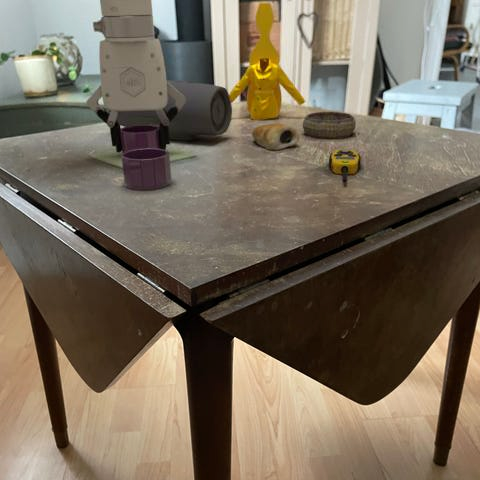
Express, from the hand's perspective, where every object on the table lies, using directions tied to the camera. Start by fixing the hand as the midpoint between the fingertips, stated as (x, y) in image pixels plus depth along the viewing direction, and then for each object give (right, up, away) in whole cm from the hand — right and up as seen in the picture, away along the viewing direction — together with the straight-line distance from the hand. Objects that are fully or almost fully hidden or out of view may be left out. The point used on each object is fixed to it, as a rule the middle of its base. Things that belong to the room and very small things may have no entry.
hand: (141, 148), depth 91 cm
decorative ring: (+34, +7, +14) cm, 37 cm away
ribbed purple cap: (+3, -9, -13) cm, 16 cm away
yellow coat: (+22, +16, +29) cm, 40 cm away
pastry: (+23, +3, +7) cm, 24 cm away
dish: (0, -1, +1) cm, 1 cm away
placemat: (0, -1, +1) cm, 1 cm away
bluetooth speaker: (+3, +6, +14) cm, 15 cm away
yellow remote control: (+32, -7, -9) cm, 34 cm away
